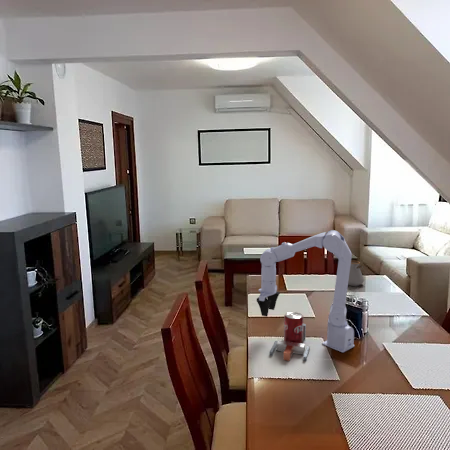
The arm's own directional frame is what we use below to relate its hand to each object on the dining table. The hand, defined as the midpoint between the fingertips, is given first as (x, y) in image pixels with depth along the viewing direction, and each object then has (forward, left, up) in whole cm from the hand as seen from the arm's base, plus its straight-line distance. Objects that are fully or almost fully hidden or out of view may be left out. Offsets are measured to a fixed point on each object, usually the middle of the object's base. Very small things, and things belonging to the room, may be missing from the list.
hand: (268, 312), depth 164 cm
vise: (-13, 0, -10) cm, 16 cm away
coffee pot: (+11, -81, -10) cm, 82 cm away
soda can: (-12, -2, -10) cm, 16 cm away
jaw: (-16, +6, -10) cm, 20 cm away
